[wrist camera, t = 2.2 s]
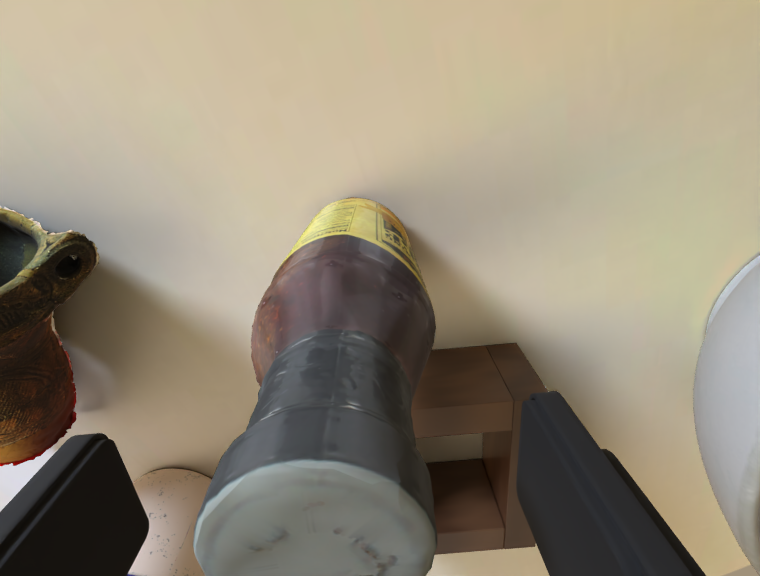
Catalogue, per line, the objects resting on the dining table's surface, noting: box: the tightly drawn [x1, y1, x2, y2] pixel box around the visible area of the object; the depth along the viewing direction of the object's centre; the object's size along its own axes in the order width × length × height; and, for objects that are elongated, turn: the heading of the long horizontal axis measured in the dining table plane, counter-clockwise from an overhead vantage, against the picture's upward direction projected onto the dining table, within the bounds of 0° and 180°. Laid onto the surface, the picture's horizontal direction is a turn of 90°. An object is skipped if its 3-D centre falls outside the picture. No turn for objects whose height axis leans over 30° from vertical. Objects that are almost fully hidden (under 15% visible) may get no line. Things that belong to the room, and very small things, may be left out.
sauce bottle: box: [193, 197, 437, 576], centre depth 16 cm, size 6×6×20 cm
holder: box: [411, 343, 548, 555], centre depth 28 cm, size 13×13×6 cm
